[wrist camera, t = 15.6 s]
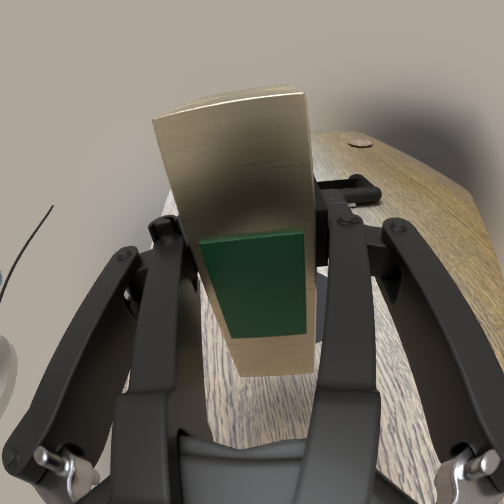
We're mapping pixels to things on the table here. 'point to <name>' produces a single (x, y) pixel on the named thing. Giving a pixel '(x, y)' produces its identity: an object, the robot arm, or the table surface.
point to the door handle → (354, 189)
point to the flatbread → (360, 142)
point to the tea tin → (250, 219)
